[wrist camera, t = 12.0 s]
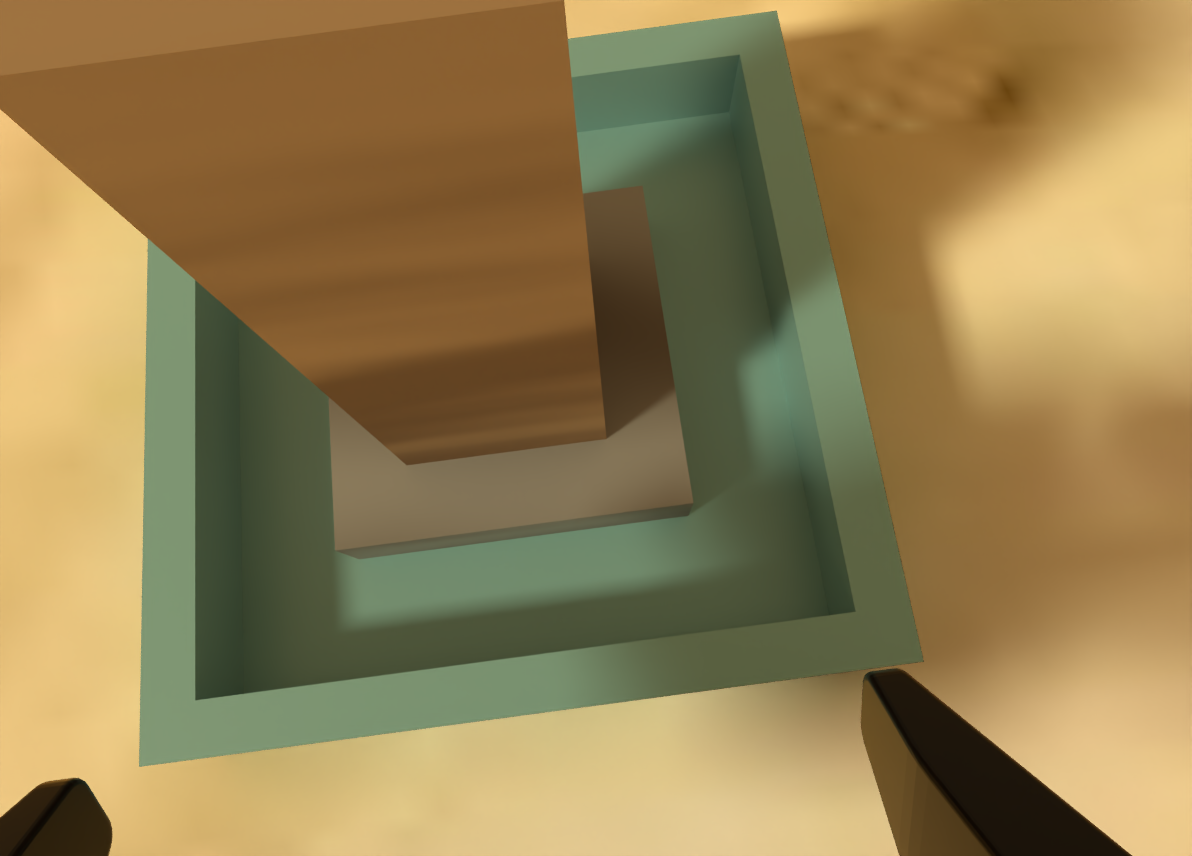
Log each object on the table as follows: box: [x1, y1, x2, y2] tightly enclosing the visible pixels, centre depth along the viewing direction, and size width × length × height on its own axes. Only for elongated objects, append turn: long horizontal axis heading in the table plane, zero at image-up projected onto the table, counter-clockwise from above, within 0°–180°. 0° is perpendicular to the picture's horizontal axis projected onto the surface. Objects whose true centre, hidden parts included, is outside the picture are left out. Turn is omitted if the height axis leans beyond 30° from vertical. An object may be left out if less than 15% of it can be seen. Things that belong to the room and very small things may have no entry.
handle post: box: [0, 0, 693, 559], centre depth 12 cm, size 7×7×13 cm
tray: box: [139, 11, 924, 767], centre depth 18 cm, size 14×14×3 cm
